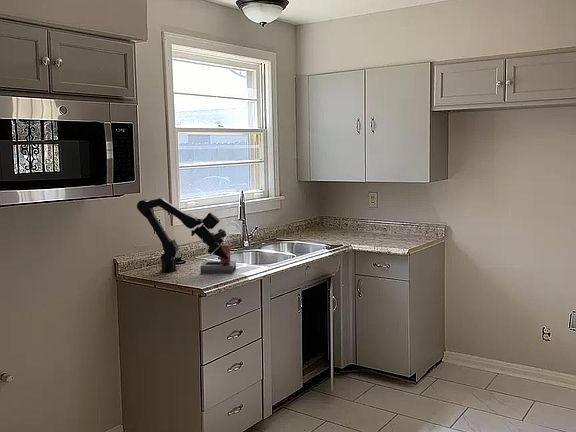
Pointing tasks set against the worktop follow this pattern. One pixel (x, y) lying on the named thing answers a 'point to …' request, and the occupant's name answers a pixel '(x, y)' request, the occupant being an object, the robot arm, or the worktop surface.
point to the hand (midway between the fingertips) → (228, 257)
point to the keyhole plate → (217, 267)
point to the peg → (227, 251)
